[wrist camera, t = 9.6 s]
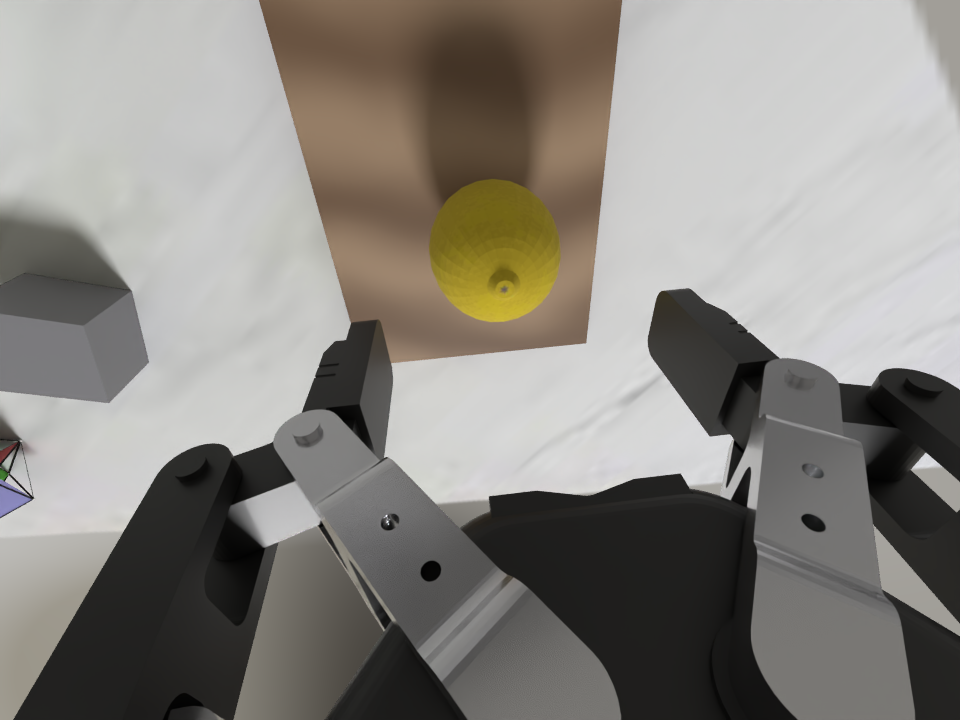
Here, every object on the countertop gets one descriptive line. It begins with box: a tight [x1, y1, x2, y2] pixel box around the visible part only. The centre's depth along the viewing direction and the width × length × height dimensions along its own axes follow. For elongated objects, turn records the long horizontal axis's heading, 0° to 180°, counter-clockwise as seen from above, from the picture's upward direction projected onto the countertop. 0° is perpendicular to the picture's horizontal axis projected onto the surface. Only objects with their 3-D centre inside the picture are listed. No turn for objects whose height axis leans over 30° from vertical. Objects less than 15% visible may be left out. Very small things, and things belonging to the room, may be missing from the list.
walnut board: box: [259, 0, 622, 363], centre depth 21 cm, size 18×14×2 cm
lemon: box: [429, 179, 561, 322], centre depth 18 cm, size 6×6×8 cm
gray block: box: [0, 273, 149, 403], centre depth 22 cm, size 5×5×4 cm
